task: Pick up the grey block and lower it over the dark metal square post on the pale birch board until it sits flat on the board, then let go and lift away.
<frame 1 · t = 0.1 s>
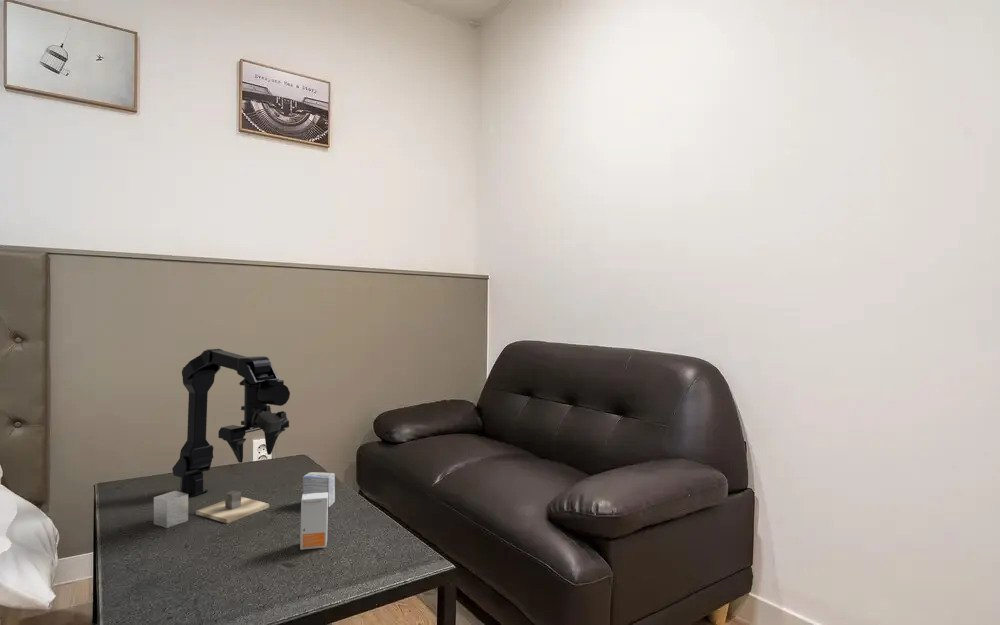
hand: (255, 458, 150), 15 cm above the table, fingers open, 9 cm apart
grey block: (171, 522, 142), on the table
medicine box: (318, 505, 156), on the table
post board: (233, 510, 150), on the table
skincare box: (314, 546, 129), on the table
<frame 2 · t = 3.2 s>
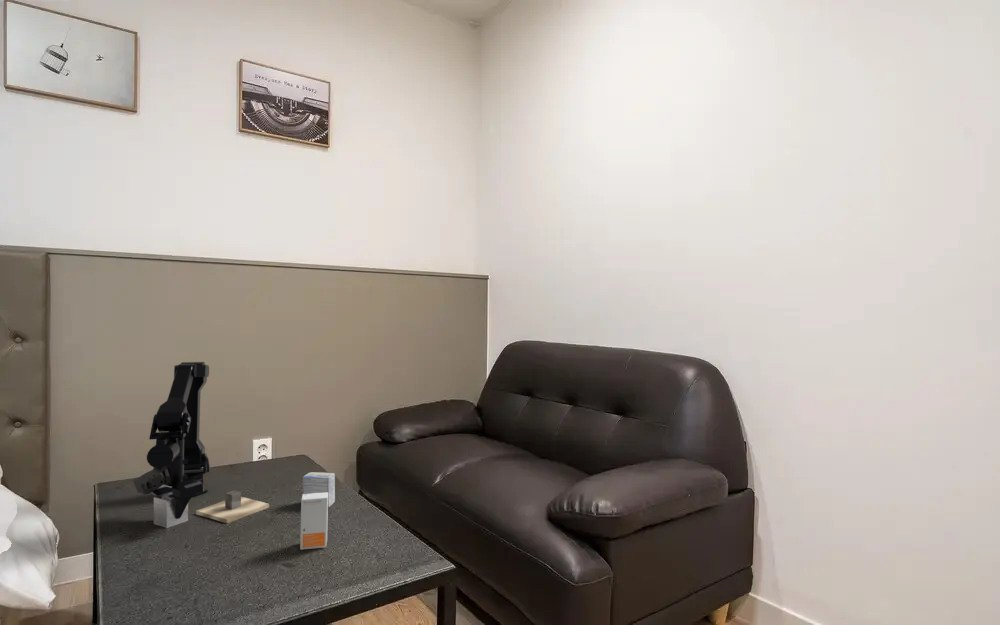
hand: (171, 516, 142), 2 cm above the table, fingers closed on grey block, 6 cm apart
grey block: (170, 522, 142), on the table, touching gripper
everything else where it was.
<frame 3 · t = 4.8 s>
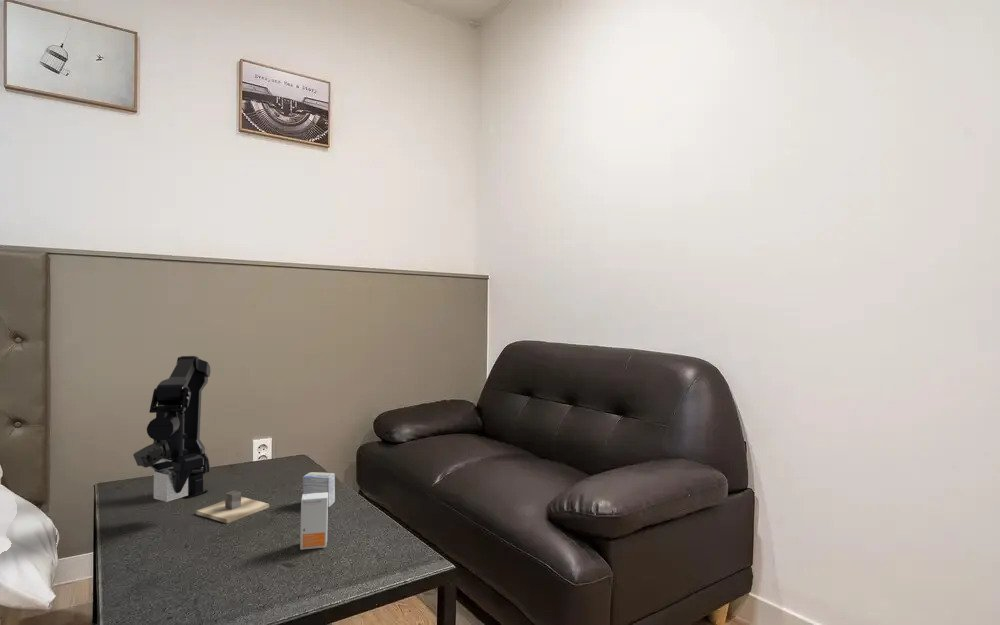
hand: (171, 490, 142), 8 cm above the table, fingers closed on grey block, 6 cm apart
grey block: (171, 496, 142), point 7 cm above the table, touching gripper
everything else where it was.
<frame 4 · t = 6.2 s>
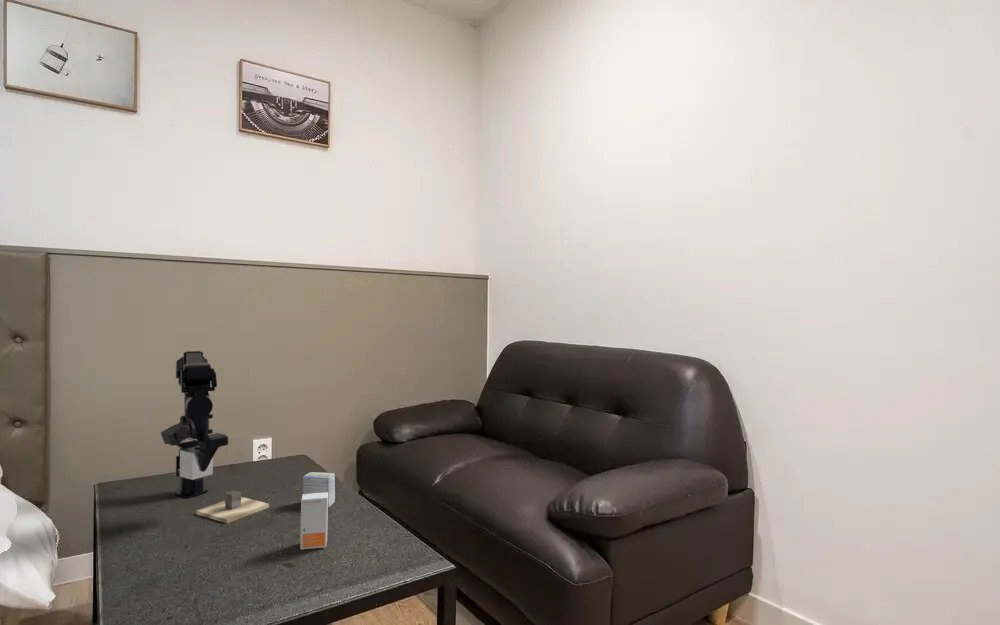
hand: (196, 469, 145), 13 cm above the table, fingers closed on grey block, 6 cm apart
grey block: (196, 475, 145), point 11 cm above the table, touching gripper
everything else where it was.
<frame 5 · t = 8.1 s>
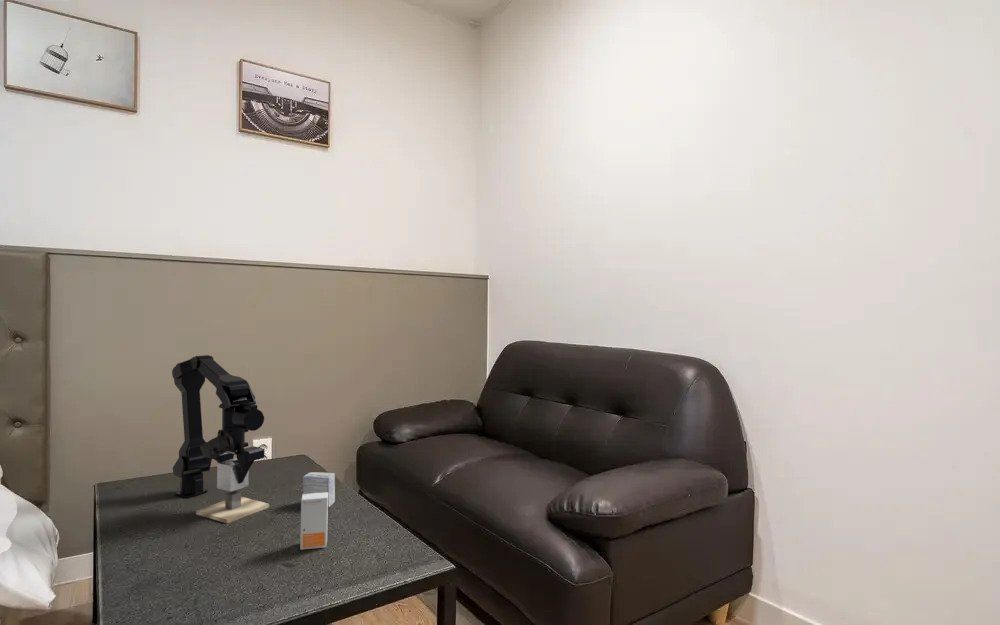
hand: (233, 481, 150), 8 cm above the table, fingers closed on grey block, 6 cm apart
grey block: (232, 487, 150), point 7 cm above the table, touching gripper
everything else where it was.
when the fingers open (3 cm above the table, at t = 9.7 s): grey block stays where it is, resting on post board.
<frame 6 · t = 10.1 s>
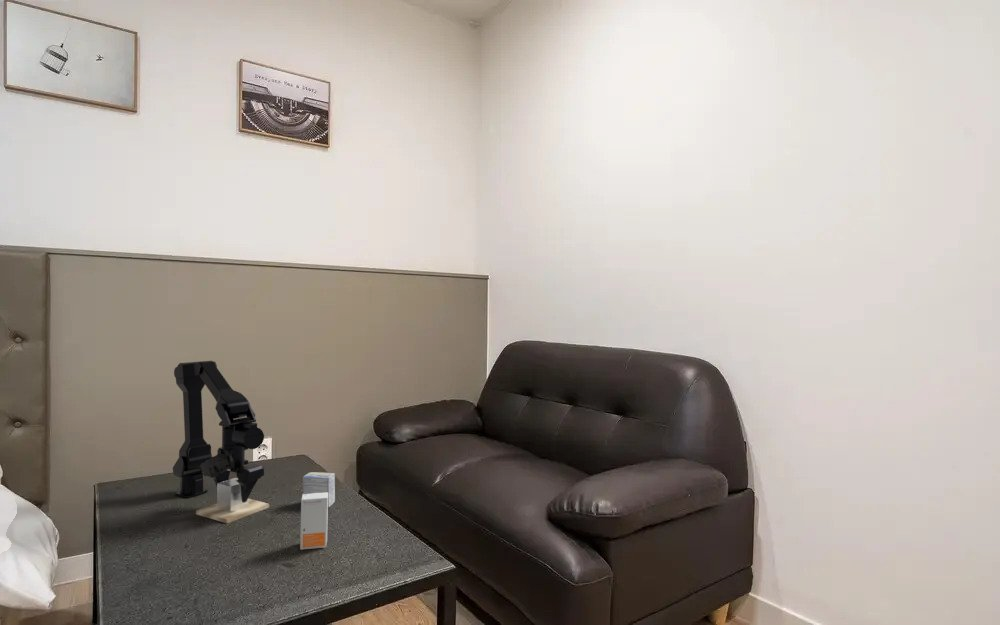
hand: (233, 499, 150), 3 cm above the table, fingers open, 9 cm apart
grey block: (232, 507, 150), point 1 cm above the table, touching post board
everything else where it was.
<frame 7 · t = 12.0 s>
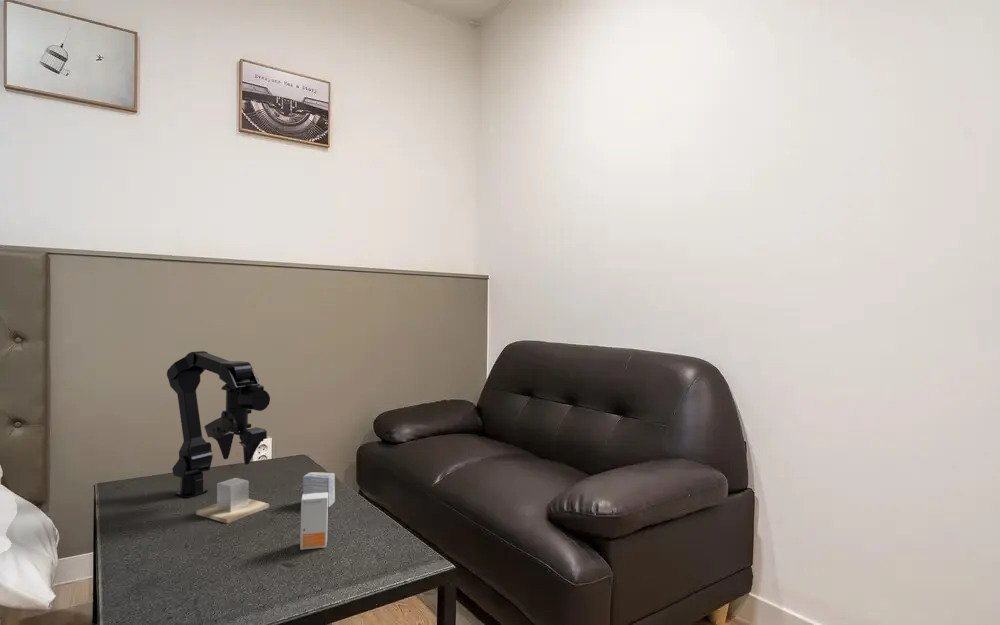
hand: (236, 461, 153), 13 cm above the table, fingers open, 9 cm apart
nothing on the table moved.
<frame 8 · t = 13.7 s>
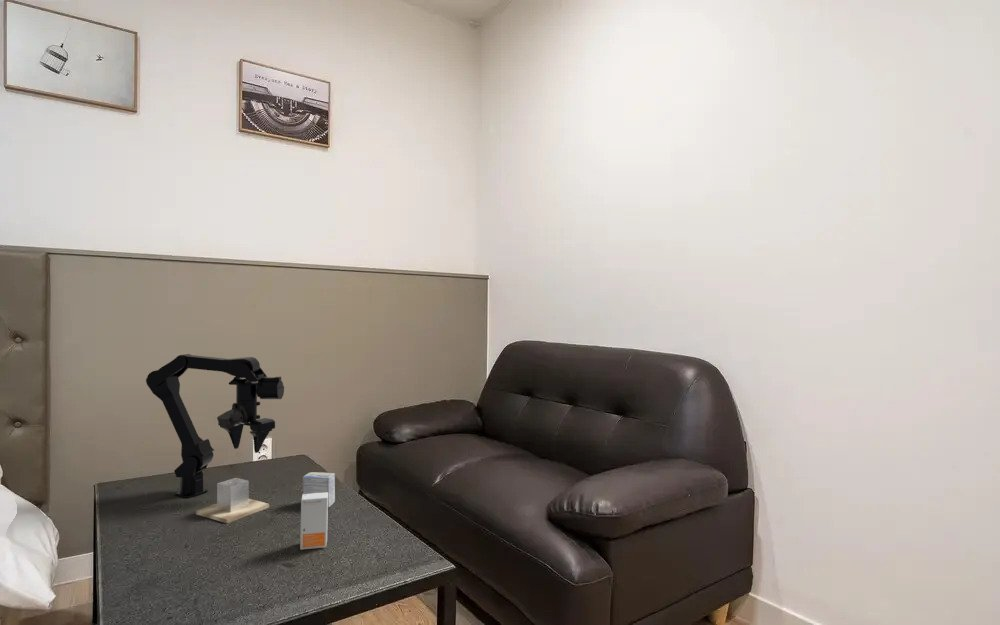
hand: (246, 450, 164), 13 cm above the table, fingers open, 9 cm apart
nothing on the table moved.
at the end: grey block 0.1 cm off-centre on the post board, point 1.0 cm above the post board's base; grey block tilted 0°; the gripper is holding nothing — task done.
